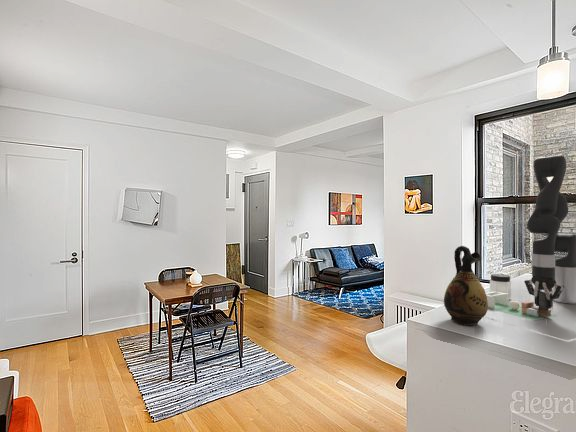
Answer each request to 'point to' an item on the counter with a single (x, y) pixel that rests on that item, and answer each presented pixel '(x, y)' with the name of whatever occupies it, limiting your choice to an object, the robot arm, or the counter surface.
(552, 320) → the counter surface
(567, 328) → the counter surface
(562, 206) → the robot arm
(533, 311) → the bracket
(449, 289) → the ceramic jug
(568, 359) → the counter surface
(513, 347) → the counter surface
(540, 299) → the wooden peg with knob
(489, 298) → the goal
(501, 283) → the jar
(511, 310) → the pitch mat
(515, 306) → the ball
